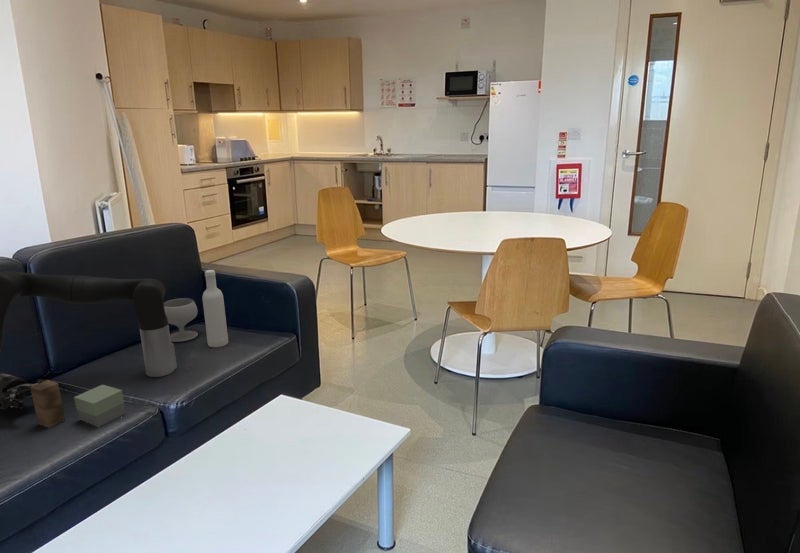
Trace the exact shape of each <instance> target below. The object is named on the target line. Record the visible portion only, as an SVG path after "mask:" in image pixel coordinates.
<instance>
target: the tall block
mask: <svg viewBox="0 0 800 553" xmlns="http://www.w3.org/2000/svg"><path fill="white" fill-rule="evenodd" d="M59 385H60V384H59V383H58V382H55V381H52V380H48V379H47V380H46V381H44V382H42V383H39V384H37V385H34V386H32V387H30V388H31V393H32V396H31V397H32V401H33V406H34V410H35V411H34V412H35V415H36V420H37V424H40V425H39V426H41V425H43V426H42V427H44V426H45V428H46V427H48V428H47V429H50V428H49V427H51V426H53V425H55V424H57V423H59V422H61V421H63V420H65V419H66V415H65V411H64V406H63V400H62V396H61V391H60V386H59ZM65 421H66V420H65ZM63 422H64V421H63ZM61 423H62V422H61ZM59 424H60V423H59ZM57 425H58V424H57ZM55 426H56V425H55ZM53 427H54V426H53ZM51 428H52V427H51Z"/></svg>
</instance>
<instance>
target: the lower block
mask: <svg viewBox="0 0 800 553" xmlns="http://www.w3.org/2000/svg"><path fill="white" fill-rule="evenodd" d="M76 412H77V416H78V420H79V419H80V420H83V421H85V422H88V423H90V424H92V425H91V426H93V425H94V427H95V428H99V427H102V426H104V425H106V424H107V423H109V422H111V421H114V420H116V419H117V418H119V417H121V416H124V415H125V414H127V410H126V405H125V402H124V403H122V404H120V405H118V406H116V407H114V408H112V409H110V410H108V411H106V412H104V413H102V414H100V415H98V416H94V415H91V414H88V413H85V412H82V411H79V410H76ZM80 420H79V421H80ZM85 422H84V423H85ZM88 423H87V424H88ZM90 424H89V425H90Z"/></svg>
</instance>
